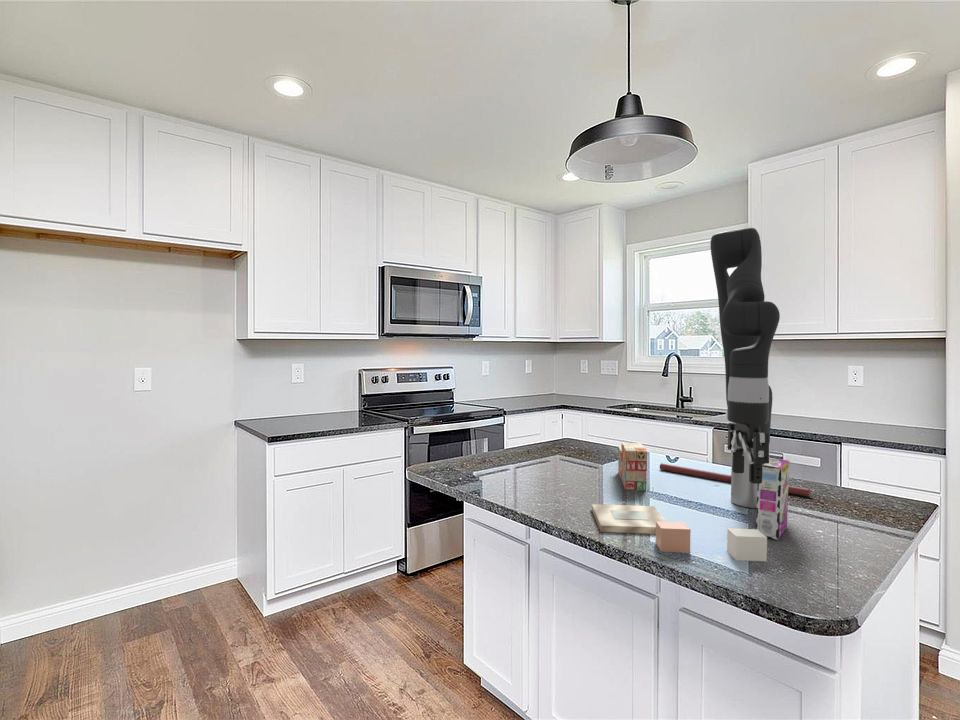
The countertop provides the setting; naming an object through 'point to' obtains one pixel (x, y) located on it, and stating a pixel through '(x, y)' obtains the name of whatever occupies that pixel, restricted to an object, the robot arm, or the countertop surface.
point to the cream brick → (747, 544)
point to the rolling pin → (723, 477)
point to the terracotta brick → (672, 536)
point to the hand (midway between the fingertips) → (746, 477)
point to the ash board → (626, 518)
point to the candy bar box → (773, 499)
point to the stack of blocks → (632, 466)
